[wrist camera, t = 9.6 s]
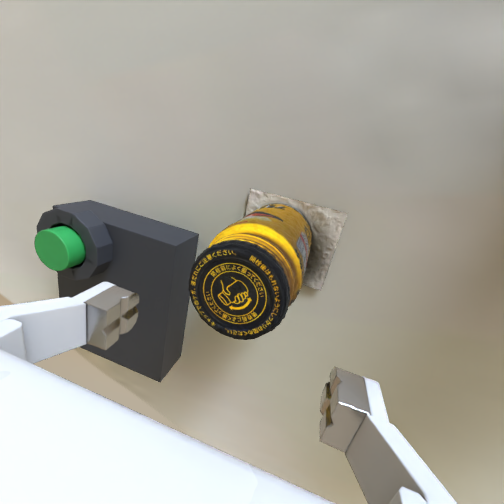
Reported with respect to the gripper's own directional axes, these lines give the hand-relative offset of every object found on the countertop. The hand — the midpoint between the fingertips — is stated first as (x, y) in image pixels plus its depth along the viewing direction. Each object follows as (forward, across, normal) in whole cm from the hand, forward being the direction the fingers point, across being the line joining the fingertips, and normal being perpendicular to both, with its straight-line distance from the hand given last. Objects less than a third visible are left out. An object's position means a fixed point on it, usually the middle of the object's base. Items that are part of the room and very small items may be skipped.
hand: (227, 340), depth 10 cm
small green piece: (+9, +18, +4) cm, 20 cm away
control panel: (+15, +15, +10) cm, 23 cm away
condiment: (+15, 0, 0) cm, 15 cm away
